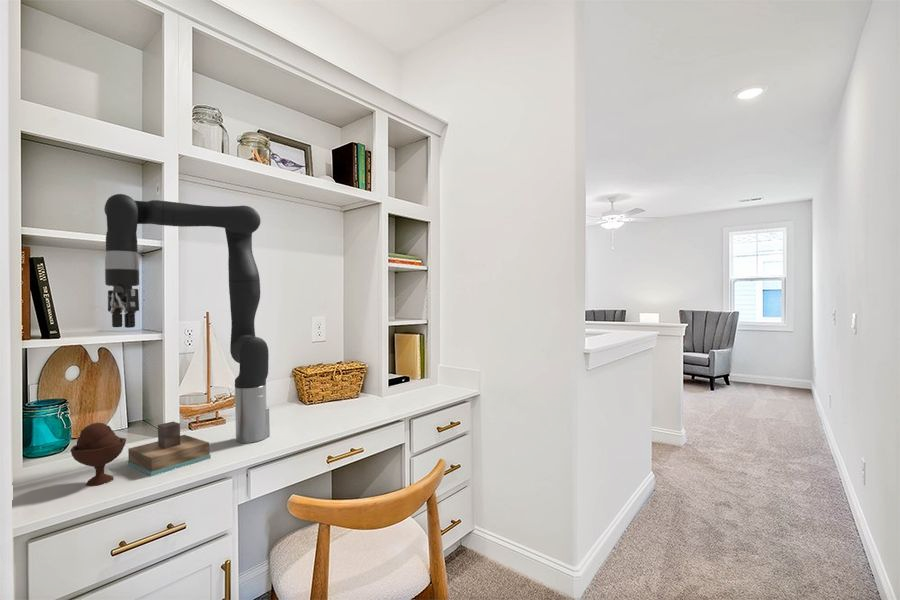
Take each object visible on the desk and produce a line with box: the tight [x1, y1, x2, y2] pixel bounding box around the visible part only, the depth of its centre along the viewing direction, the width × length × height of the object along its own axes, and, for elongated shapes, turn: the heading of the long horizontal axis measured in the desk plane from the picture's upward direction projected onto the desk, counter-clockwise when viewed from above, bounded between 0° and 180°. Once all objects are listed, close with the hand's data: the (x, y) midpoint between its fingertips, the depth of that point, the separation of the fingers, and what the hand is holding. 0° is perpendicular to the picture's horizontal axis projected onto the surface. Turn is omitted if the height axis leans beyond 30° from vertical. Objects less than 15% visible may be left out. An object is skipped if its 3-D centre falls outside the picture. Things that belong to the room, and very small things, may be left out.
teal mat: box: [127, 453, 211, 477], centre depth 124 cm, size 15×15×1 cm
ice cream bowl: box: [70, 422, 127, 487], centre depth 111 cm, size 11×11×15 cm
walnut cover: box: [127, 421, 210, 472], centre depth 124 cm, size 15×15×10 cm
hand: (123, 327), depth 121 cm, fingers open, 8 cm apart
